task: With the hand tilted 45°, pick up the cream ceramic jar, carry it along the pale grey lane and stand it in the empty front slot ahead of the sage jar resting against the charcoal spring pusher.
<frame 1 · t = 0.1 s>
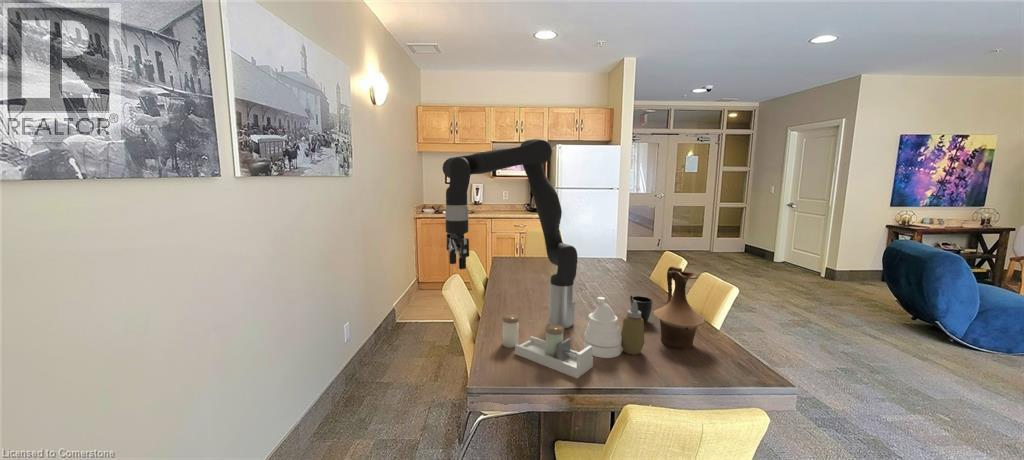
hand: (457, 266, 128), 29 cm above the table, tool pointing down, fingers open, 8 cm apart
mug: (638, 319, 162), on the table
sage jar: (553, 357, 124), point 1 cm above the table, touching jar lane
pitcher: (676, 343, 140), on the table
jar lane: (552, 360, 125), on the table
cream jar: (510, 344, 136), on the table
honey pot: (602, 349, 133), on the table, touching squeeze bottle
squeeze bottle: (631, 351, 132), on the table, touching honey pot
pusher: (566, 351, 121), point 5 cm above the table, slide at 0.0 cm
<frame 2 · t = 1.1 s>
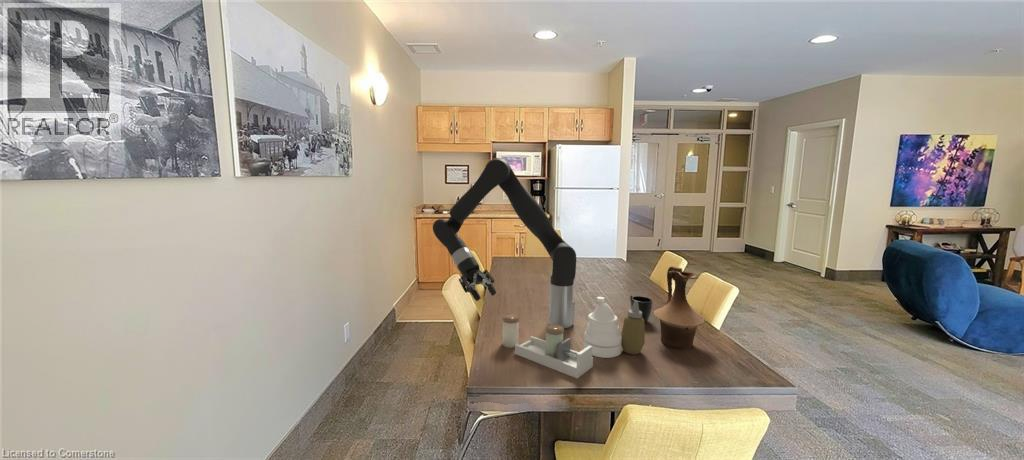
hand: (486, 297, 141), 15 cm above the table, tool tilted 45°, fingers open, 8 cm apart
honey pot: (602, 349, 133), on the table, touching squeeze bottle
everything else where it was.
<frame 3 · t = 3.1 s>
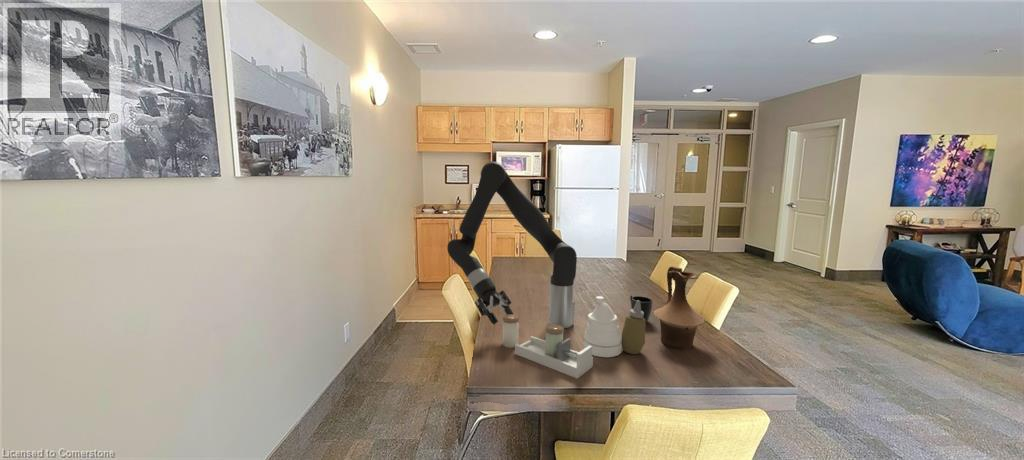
hand: (503, 319, 137), 8 cm above the table, tool tilted 45°, fingers open, 8 cm apart
nothing on the table moved.
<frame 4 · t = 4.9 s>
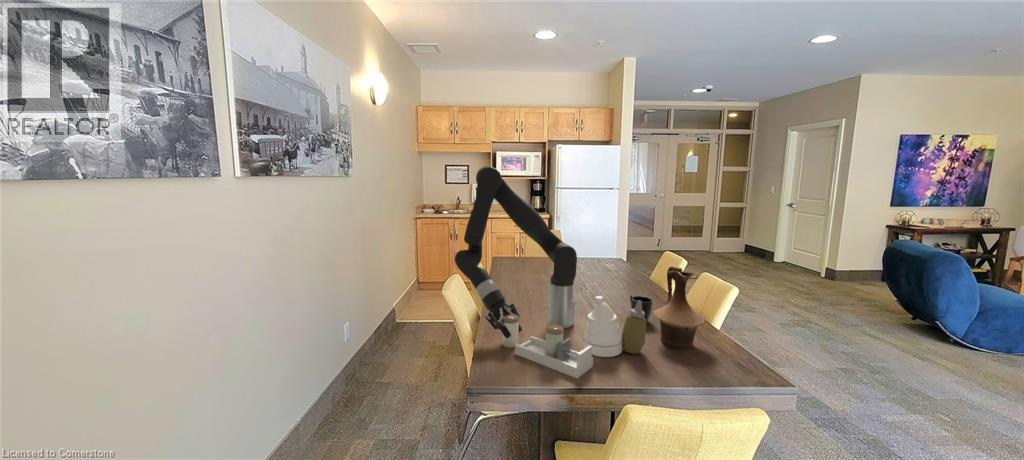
hand: (514, 334, 134), 4 cm above the table, tool tilted 45°, fingers closed on cream jar, 5 cm apart
cream jar: (510, 344, 136), on the table, touching gripper
everything else where it was.
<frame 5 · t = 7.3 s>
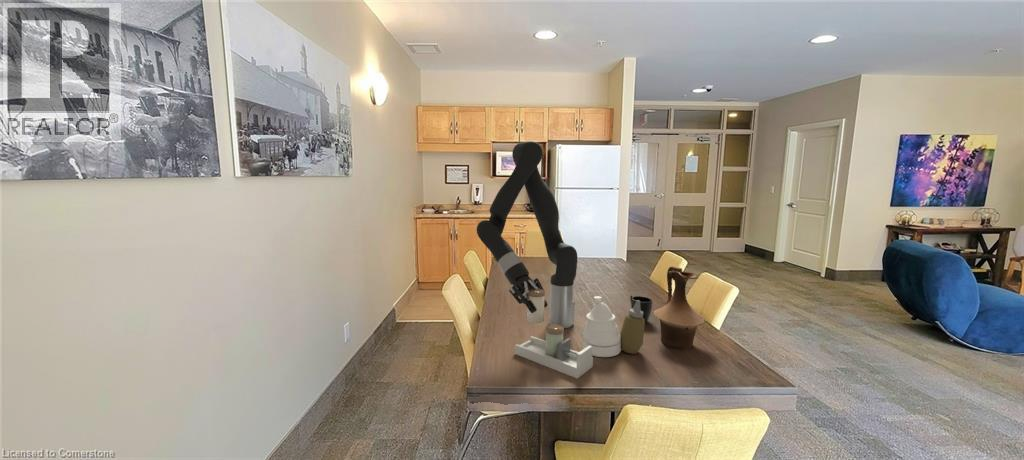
hand: (540, 309, 126), 16 cm above the table, tool tilted 45°, fingers closed on cream jar, 5 cm apart
cream jar: (535, 320, 128), point 12 cm above the table, touching gripper
honey pot: (601, 349, 133), on the table, touching squeeze bottle
everything else where it was.
when the fingers open (7 cm above the table, at t = 9.6 s): cream jar drops 1 cm, resting on jar lane.
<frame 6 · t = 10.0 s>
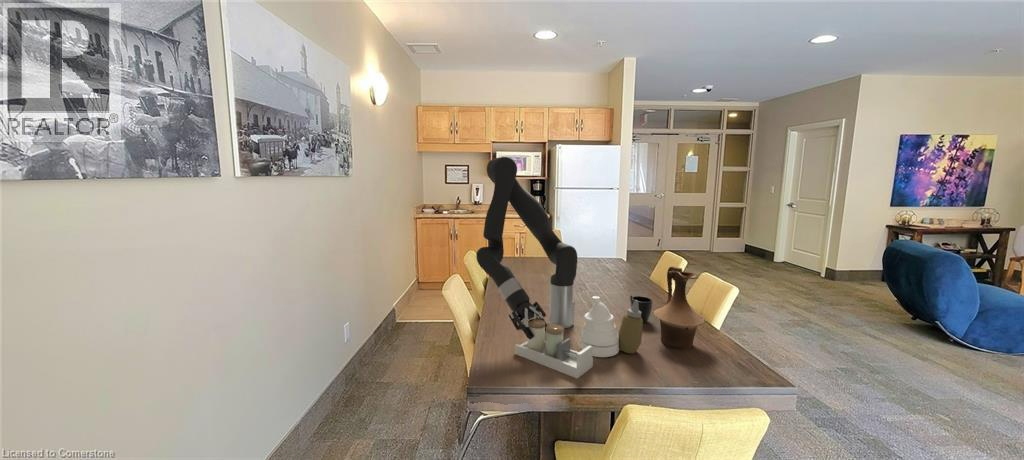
hand: (539, 334, 127), 7 cm above the table, tool tilted 45°, fingers open, 8 cm apart
cream jar: (535, 350, 129), point 1 cm above the table, touching jar lane
honey pot: (600, 349, 133), on the table, touching squeeze bottle
everything else where it was.
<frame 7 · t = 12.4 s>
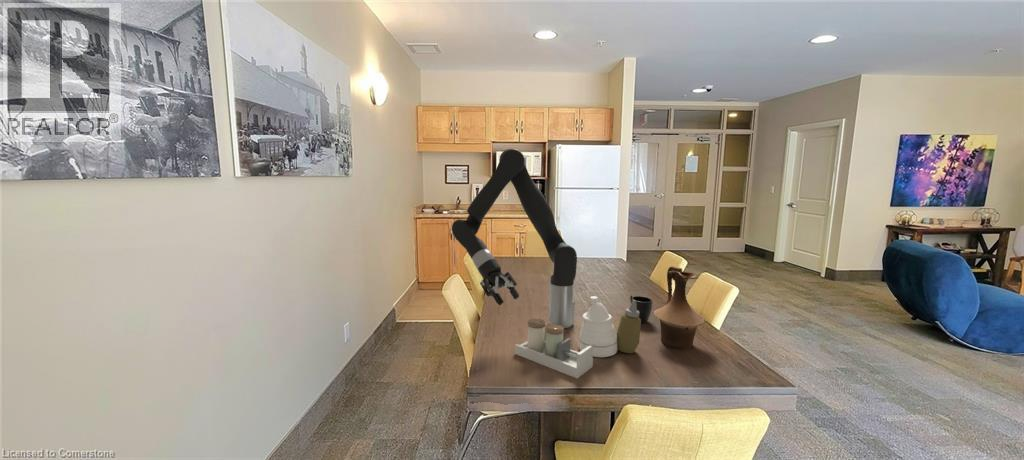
hand: (509, 300, 134), 16 cm above the table, tool tilted 45°, fingers open, 8 cm apart
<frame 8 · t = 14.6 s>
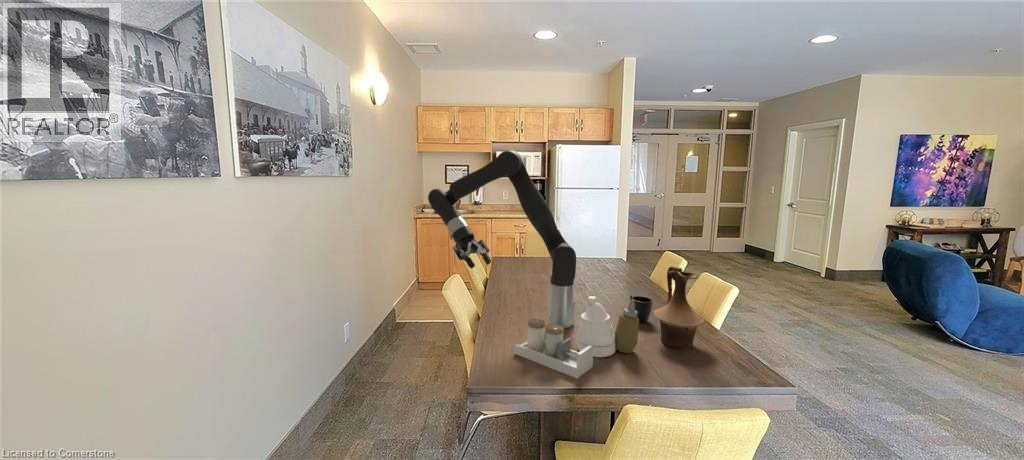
hand: (481, 265, 140), 27 cm above the table, tool tilted 45°, fingers open, 8 cm apart
at the end: cream jar 0.1 cm from the target spot, point 1.2 cm above the table; cream jar tilted 1°; sage jar moved 0.0 cm from its start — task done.
